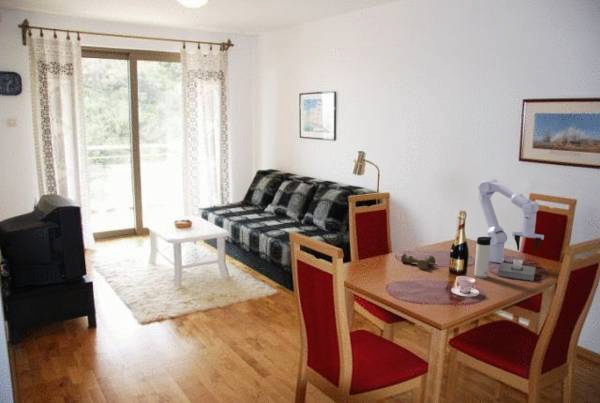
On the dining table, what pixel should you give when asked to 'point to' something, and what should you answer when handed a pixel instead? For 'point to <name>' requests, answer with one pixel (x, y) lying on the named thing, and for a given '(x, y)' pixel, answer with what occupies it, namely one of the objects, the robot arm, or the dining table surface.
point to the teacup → (465, 287)
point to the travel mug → (482, 257)
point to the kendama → (419, 261)
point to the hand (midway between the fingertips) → (526, 251)
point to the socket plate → (516, 272)
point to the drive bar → (517, 265)
